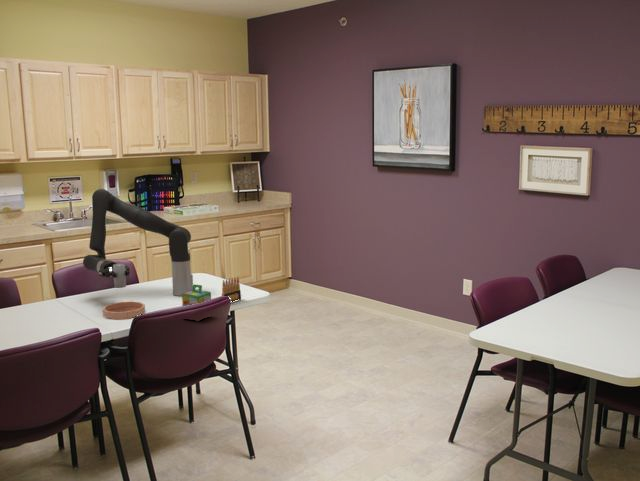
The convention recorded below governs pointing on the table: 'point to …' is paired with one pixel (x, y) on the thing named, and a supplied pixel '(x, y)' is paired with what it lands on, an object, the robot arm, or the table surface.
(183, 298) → the chalk box
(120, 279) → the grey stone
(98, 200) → the robot arm
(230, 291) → the ammunition clip
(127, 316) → the terracotta bowl
